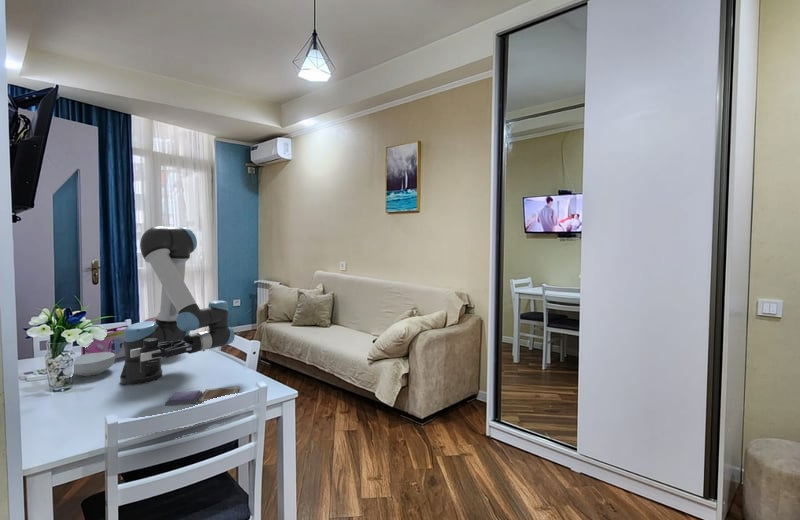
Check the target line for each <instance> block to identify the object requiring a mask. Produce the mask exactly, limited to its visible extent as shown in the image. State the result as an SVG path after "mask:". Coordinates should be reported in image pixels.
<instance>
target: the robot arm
mask: <svg viewBox="0 0 800 520" xmlns="http://www.w3.org/2000/svg"><path fill="white" fill-rule="evenodd" d="M197 245H198V240H197V236H196V235H195V233H194V232H193V231H192V230H191V229H190V228H188V227H184V226H183V227H182V226H161V225H160V226H159V225H158V226H152V227H150V228H148V229H147V230H145V232H144V233H143V234H142V235H141V237H140V241H139V249H140V253H141V255H142V258H143V259H144V261H145V262H146V263H148V264H150V265H151V268H152V269H153V272H154V273H155V275H156V276H157V279H158V280H159V282H160V284H161V294H160V308H159V313H160V314H159V313H158V314H157V315H156V316H155V317H156V321H155V322H154V321H145V320H144V321H145V322H144V321H141V322H140V321H139V322H136V323H133V324H130V325H127V326H128V327H127V328H126V329H125V331H124V350H125V356H124V365H123V366H122V370H121V374H120V376H119V377H120V378H119V379H120V381H119V383H120V384H123V385H128V386H129V385H131V386H133V385H136V386H137V385H143V384H149V383H152V382H156V381H157V380H160V379H162V377H163V368H161V370H160V371H159V372H156V373H151V374H143V373H141V372H140V349H141V348H142V347H143V346H144V345H143V340H144V339H148V338H157V339H158V345H159V346H160V347H161V352H160V350H156V351H151V352H146V353H142V354H141V362H142V361H147V360H151V359H155V358H159V357H161V358H166V359H169V358H172V357H176V356H179V355H183V354H194V353H199V352H205V351H206V350H211V349H214V348H219V347H224V346H227V345H230V344H233V342H234V341H235V338H236V337H235V336H236V335H235V331H234V329H233V328H232V327H230V326H229V305H228V304H229V303H228V302H227V301H226V300H212V301H210V302H209V303H208V306H207V307H204V308H200V306H199V305H198V304H197V301H196V300H195V298H194V297H193V295H192V293H191V290H189V287H188V286H187V284H186V283H185V274H186V264H187V263H186V262H187V261H188V260H190V259H191V254H192V253H193V252H195V250H197ZM207 327H208V330H204V331H200V332H196V333H191V332H192V331H197V330H198V329H203V328H207ZM190 333H191V334H190Z"/></svg>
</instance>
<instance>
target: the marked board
mask: <svg viewBox="0 0 800 520" xmlns="http://www.w3.org/2000/svg"><path fill="white" fill-rule="evenodd" d="M239 391H240V386H232V387H231V386H230V387H219V388H205V390H204V391H203V392H202V395H201V396H200V397H199V399H198V400H197V402H196V403H197V404H198V403H201V404H203V403H202V402H204V401H207V400H210V399H213V398H217V397H221V396H225V395H230V394H235V393H237V394H238V393H239ZM198 405H199V404H198Z"/></svg>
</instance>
